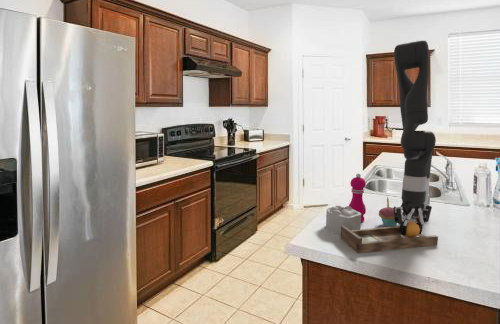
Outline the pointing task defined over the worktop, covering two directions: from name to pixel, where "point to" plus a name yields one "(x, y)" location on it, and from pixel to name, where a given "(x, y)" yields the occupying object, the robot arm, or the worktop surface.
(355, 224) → the lumpy-topped squat cylinder
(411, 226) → the ball
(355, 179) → the pepper mill
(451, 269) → the worktop surface
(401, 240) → the wooden tray
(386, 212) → the cupcake
